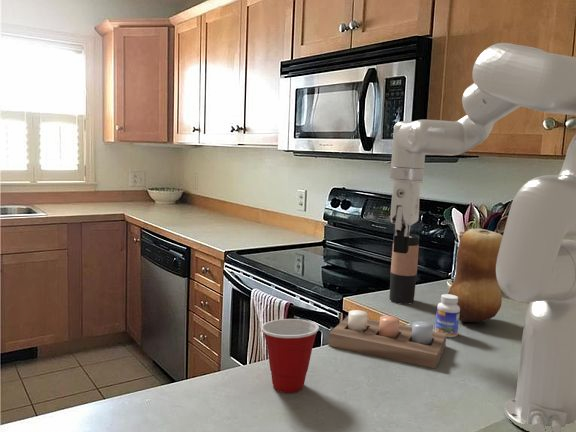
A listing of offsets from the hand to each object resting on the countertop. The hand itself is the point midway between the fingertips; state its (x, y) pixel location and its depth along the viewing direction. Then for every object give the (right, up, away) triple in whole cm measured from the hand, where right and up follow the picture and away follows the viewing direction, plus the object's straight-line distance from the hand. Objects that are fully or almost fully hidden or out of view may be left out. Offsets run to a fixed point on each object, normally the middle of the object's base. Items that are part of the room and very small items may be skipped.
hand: (400, 252), depth 123 cm
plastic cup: (-27, -24, -25) cm, 44 cm away
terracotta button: (-4, -19, -4) cm, 20 cm away
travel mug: (+7, -17, +32) cm, 37 cm away
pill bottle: (+13, -21, +6) cm, 25 cm away
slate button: (+3, -20, -7) cm, 21 cm away
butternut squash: (+23, -20, +17) cm, 35 cm away
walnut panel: (-4, -21, -4) cm, 22 cm away
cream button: (-11, -18, -1) cm, 21 cm away
